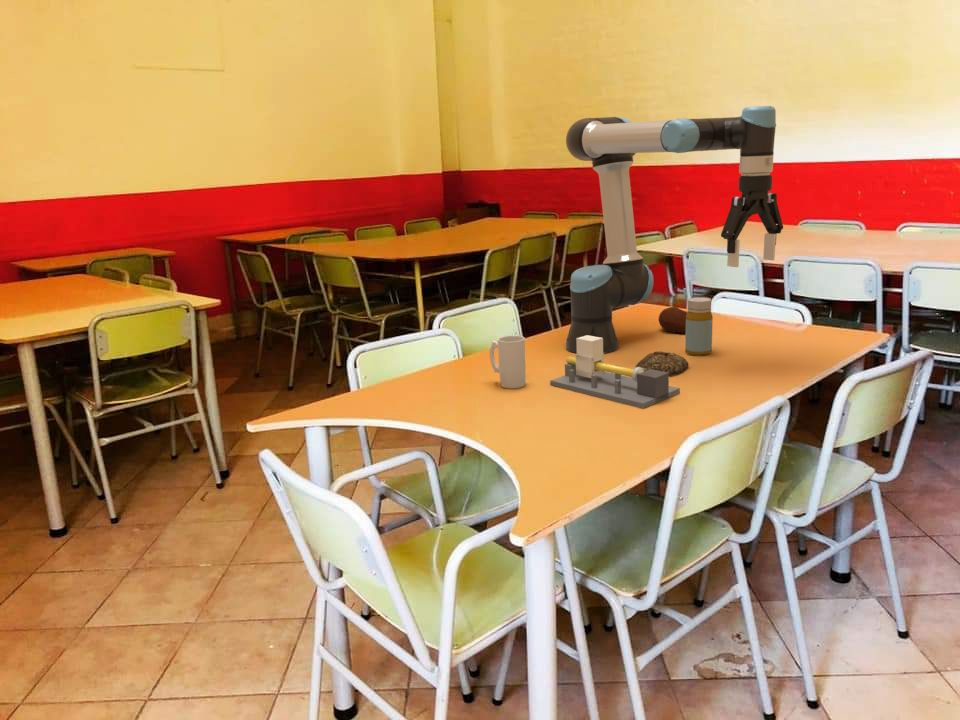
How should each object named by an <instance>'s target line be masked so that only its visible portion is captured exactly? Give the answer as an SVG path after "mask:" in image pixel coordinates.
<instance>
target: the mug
mask: <svg viewBox="0 0 960 720" xmlns="http://www.w3.org/2000/svg"><path fill="white" fill-rule="evenodd" d="M525 342H526V338H525V337H524V336H522V335H505V336H500V337H498V338H497V339H496V340H492V341H491V345H490V349H489V360H490V363H491V366H492V369H493V372H494V373H499V381H500V386H501V387H502V388H503V389H510V390H511V389H512V390H513V389H520V388H523V387H525V386H526V383H527V382H526V379H527V378H526V343H525ZM496 348H497V354H498V355H497V356H498V364H497V362H496V360H495V359H496V358H495V354H494V353H495V350H496Z"/></svg>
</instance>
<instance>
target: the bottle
mask: <svg viewBox="0 0 960 720" xmlns="http://www.w3.org/2000/svg"><path fill="white" fill-rule="evenodd" d="M686 312H687V315H686V333H685V336H684V337H685V341H684V344H685V347H684V349H685V353H687V355H690V356H695V355H700V356H699V357H701V356H708V355H710V354H711V353H712V351H713V349H712V348H713V321H714V320H713V319H714V318H713V316H714V315H713V314H712V299H711V298H710V297H690V298H687V311H686Z"/></svg>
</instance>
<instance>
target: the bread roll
mask: <svg viewBox="0 0 960 720" xmlns="http://www.w3.org/2000/svg"><path fill="white" fill-rule="evenodd" d="M636 367H641V368H643V369H644V371H647V370H649V369H652V370H657V371H662V372H667V373H669V377H673V376H675V375H678V374H681V373H683V372H684V371H685V370H686V369H688V368H689V362H688V361H687V359H686V358H685V357H684V356H682V355H680V354H677V353H675V352H670V351H668V352H667V351H662V350H661V351H653V352H651V353H649V354H647V355H645V356H644V357H643V358H642V359H641V360H639V361H638V362H637V363H636V365H635V368H636Z"/></svg>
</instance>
